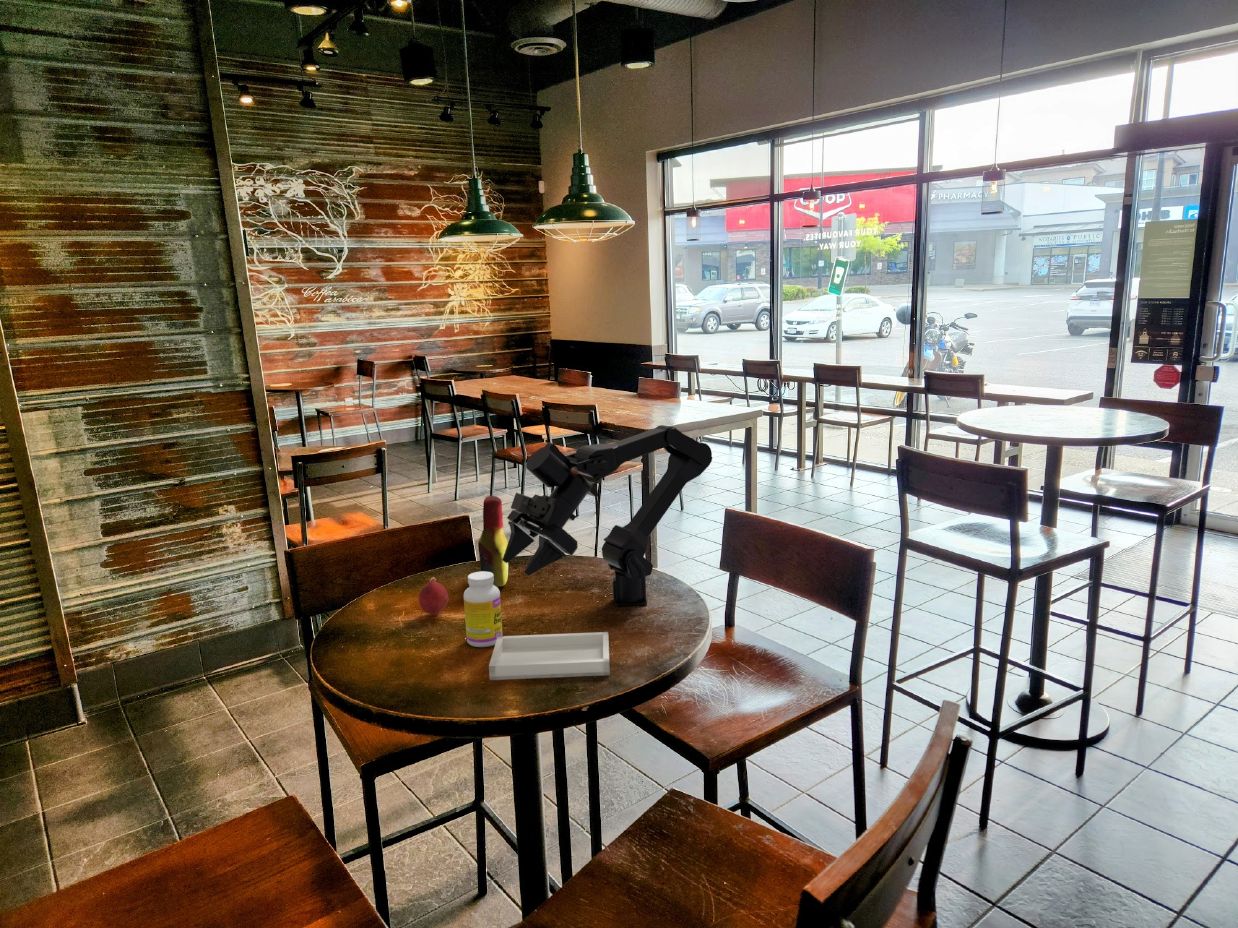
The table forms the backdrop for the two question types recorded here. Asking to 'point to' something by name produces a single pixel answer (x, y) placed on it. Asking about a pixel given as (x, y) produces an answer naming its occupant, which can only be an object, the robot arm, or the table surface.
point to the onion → (433, 597)
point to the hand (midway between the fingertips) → (514, 567)
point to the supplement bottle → (482, 610)
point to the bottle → (493, 541)
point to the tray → (550, 656)
